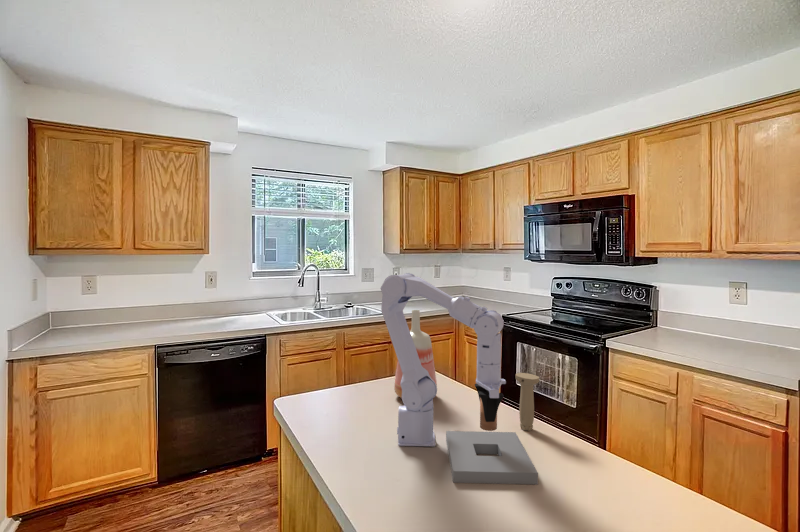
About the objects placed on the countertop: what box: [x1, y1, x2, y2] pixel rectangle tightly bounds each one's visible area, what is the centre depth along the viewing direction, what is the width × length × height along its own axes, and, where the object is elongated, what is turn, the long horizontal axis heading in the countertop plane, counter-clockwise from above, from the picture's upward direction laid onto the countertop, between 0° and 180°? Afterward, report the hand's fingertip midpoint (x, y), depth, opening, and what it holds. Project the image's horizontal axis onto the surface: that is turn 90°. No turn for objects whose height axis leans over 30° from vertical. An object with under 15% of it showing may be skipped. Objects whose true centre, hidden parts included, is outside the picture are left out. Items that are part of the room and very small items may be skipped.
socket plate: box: [445, 430, 539, 485], centre depth 100 cm, size 18×20×2 cm
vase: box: [393, 309, 438, 399], centre depth 142 cm, size 14×14×30 cm
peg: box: [479, 397, 498, 432], centre depth 101 cm, size 4×4×8 cm
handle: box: [515, 372, 540, 432], centre depth 117 cm, size 5×6×15 cm
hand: (488, 417), depth 101 cm, fingers closed on peg, 4 cm apart
